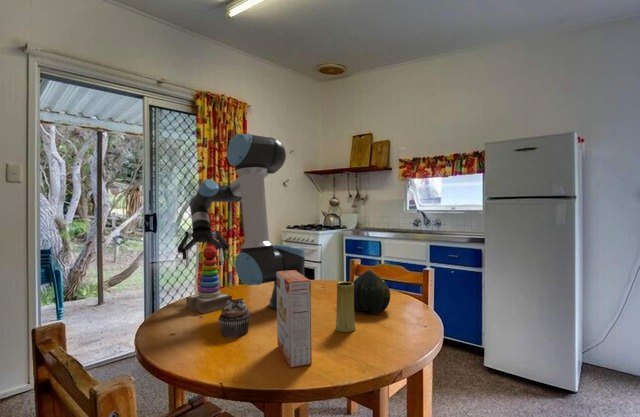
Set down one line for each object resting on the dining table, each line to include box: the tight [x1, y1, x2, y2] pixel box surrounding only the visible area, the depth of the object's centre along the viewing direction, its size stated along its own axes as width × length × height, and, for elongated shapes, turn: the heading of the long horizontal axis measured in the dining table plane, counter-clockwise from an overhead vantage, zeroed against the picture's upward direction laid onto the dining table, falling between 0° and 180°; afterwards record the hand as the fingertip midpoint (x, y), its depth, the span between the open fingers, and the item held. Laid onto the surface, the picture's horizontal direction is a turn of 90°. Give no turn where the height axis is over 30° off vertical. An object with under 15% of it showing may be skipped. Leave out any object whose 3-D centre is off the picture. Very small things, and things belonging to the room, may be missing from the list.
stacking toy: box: [197, 246, 221, 298], centre depth 135 cm, size 8×8×19 cm
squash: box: [352, 269, 391, 315], centre depth 130 cm, size 14×15×15 cm
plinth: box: [185, 292, 233, 315], centre depth 136 cm, size 12×12×4 cm
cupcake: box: [217, 298, 252, 339], centre depth 108 cm, size 10×10×10 cm
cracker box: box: [276, 270, 313, 369], centre depth 92 cm, size 14×6×21 cm, turn 19°
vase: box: [335, 281, 356, 333], centre depth 111 cm, size 6×6×14 cm
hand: (205, 264), depth 144 cm, fingers open, 13 cm apart
